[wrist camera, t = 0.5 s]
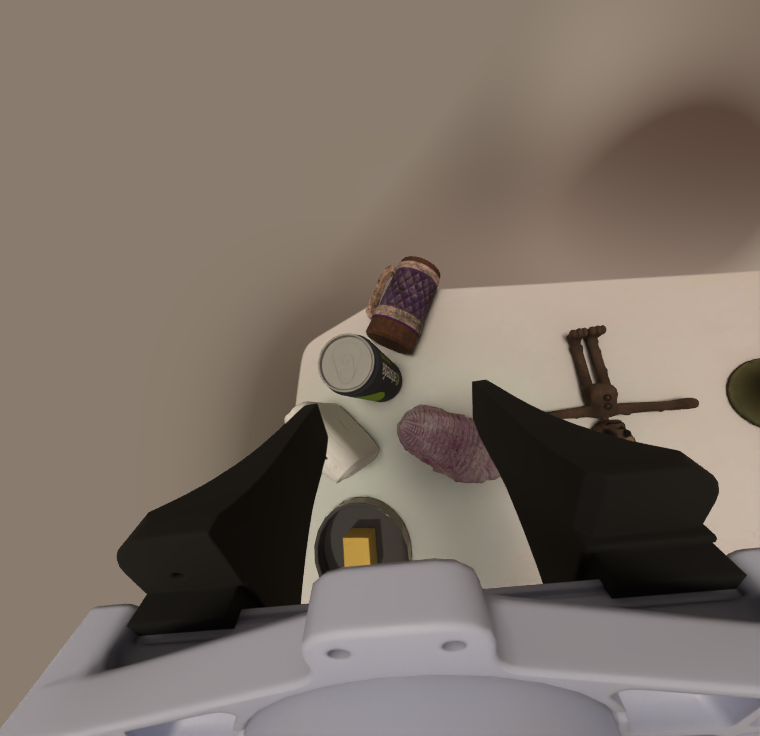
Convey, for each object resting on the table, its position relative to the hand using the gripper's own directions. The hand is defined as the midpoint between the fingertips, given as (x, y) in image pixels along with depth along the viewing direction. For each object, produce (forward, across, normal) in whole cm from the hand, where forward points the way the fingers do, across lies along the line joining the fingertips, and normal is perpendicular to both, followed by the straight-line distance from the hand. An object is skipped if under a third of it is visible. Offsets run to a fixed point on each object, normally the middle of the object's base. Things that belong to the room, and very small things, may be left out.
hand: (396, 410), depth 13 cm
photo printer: (+21, +8, +18) cm, 29 cm away
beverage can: (+25, +2, +12) cm, 28 cm away
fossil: (+18, -6, +19) cm, 27 cm away
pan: (+12, +8, +30) cm, 33 cm away
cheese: (+12, +8, +30) cm, 33 cm away
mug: (+25, +2, +6) cm, 26 cm away
